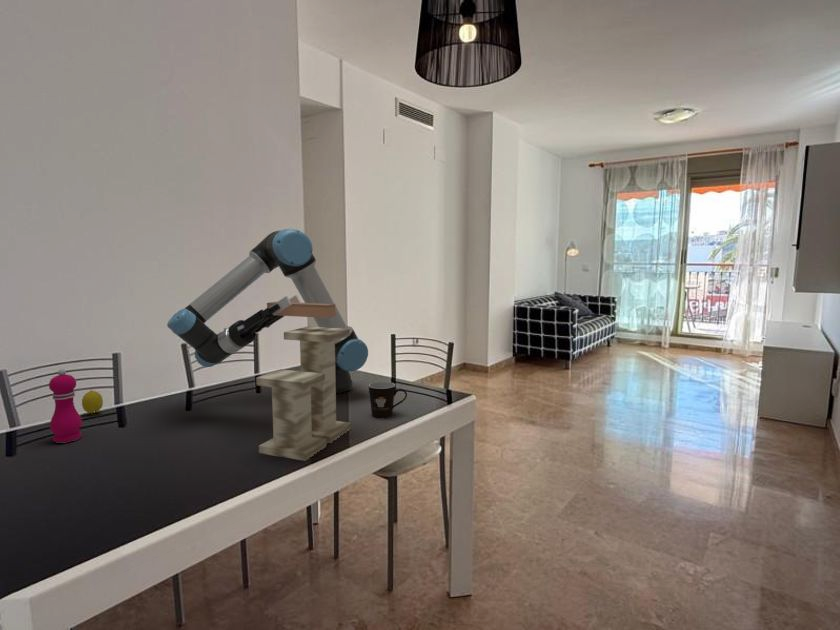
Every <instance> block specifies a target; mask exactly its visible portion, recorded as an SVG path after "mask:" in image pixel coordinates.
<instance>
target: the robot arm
mask: <svg viewBox="0 0 840 630" xmlns="http://www.w3.org/2000/svg"><path fill="white" fill-rule="evenodd" d="M313 249H314V248H313V244H312V241H311V239H310V237H308V235H307V234H306V233H304V232H303V231H301V230H298V229H295V228H285V229H282V230H275V231H273V232H270V233H269V234H268V235H266V237H264V238H263V239H262V240H260V242H259V243H258V244H256V246H255V247H254V248H252V249H251V250H249V255H248V256H247V257H246V258H245V259H244V260H242V261H241V262H240V263H239V264H237V265H235V267H234V268H232V269H231V270H230V271H228V272H227V274H225V275H224V276H223V277H222V278H220V279H219V280H218V281H216V282H215V283H214V284H213V285H211V286H210V287H209V288H207V289H206V290H205V291H204V292H202V294H201V295H199V296H198V297H197V298H196V299H194V300H193V301H192V302H190V303H189V304H188V305H187V306H185V307H184V308H182V309H180V310H178V311H177V312H176V313H174V314H173V315H172V316H171V318H170V319H168V322H167V324H166V325H167V328H169V330H171V332H172V333H173V334H175V335H176V336H177V337H179V338H180V339H181V340H183V341H184V342H185V343H187V344H188V345H189V346H190V347H192V349H194V358H195V359H196V360H197V363H198V364H199V365H201V366H202V367H205V368H212V367H214V366H217V365H218V364H221V362H223V361H224V360H226V359H227V358H229V357H230V356H231V355H234V354H236V353H237V352H239V351H241V350H242V349H244V348H245V347H246V346H248V345H250V344H251V343H252V342H254V341H255V339H256V334H257V333H259V332H261V331H262V330H263V329H265V328H266V329H267V328H270V327H271V326H272V325H273V324H275V323H276V322H278V321H280V320H281V319H283V318H284V317H285V316H278V315H276V314H278V313H279V312H281V311H283V310H284V309H286V308H287V307H289V306H290V305H292V304H291V302H296V303H302V302H301V300H300V298H299V295H300V296H301V299H302V300H303V303H321V304H335V302H334V300H333V299H332V297H331V295H330V293H329V292H328V290H327V287H326V286H325V284H324V281H323V279H321V277H320V274H319V273H318V271H317V269H316V267H315V264H316V261H317V260H316V258H315V255H314V254H313ZM277 268H279V269H280V270H281V272H282V275H283V276H284V277H286V278H289V279H291V280H292V282H293V284H294V286H295V288H296V289H297V291H298V293H299V295H297V294H295V295H294V296H292V297H290V298H289V296H287V295H286V296H283V298H281V299H280V300H278V301H276V302H277V303H275V304H273V305H272V306H270V308H267V307H266V308H265V309H260V310H258V311H257V312H256V313H254V314H253V315H250V316H248V318H246V319H245V320H244V319H241V320H240V319H239V320H237V321H236V322H234V323H232V324H231V325H230V326H229V327H224V328H223V331H220V332H218V333H216V332H215V331H214V330H212V329H211V328H210V326H208V325H206V324H205V323H206V322H208V320H210V319H211V318H212V317H213V316H215V315H216V314H217V313H219V312H220V311H221V310H222V309H223V308H224V307H226V305H228V304H229V303H230V302H232V300H234V299H235V298H236V297H238V295H240V294H241V293H242V292H244V290H246V289H247V288H248V287H250V286H251V285H252V284H253V283H254V282H256V281H257V280H258V279H259V278H261V277H262V276H263V275H264V274H270V273H271V272H272V271H273V270H274V269H277ZM272 314H273V315H272ZM335 314H336V316H335V317H331V318H318V317H312V318H313V319H314V321H315V323H316V325H317V327H324V328H341V329H350V336H348V337H344V338H341V339H338V340H335V379H336V393H338V394H342V393H341V392H344V393H346V392H345V391H348V390H350V389H352V388H353V387H354V384H353V380H352V377H351V374H350V372H355V371H357V370H360V369H361V368H362V367H363V366H364V365H365V364H366V362H367V360H368V357H369V349H368V346H367V344H366V343H365V342H364V341H363V340H361V339H359V337H358V336H357V334H356V332H355V330H354V328H353V327H352V326H350V325H347V324H346V322H345V321H344V319H343V317H342V315H341V314H340V311H339V309H338V307H337V306H336V305H335ZM353 389H354V388H353ZM353 389H352V390H353ZM350 391H351V390H350ZM348 392H349V391H348Z"/></svg>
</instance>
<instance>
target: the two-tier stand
mask: <svg viewBox="0 0 840 630" xmlns="http://www.w3.org/2000/svg"><path fill="white" fill-rule="evenodd" d="M348 336H350V329H341V328H324V327H318V326H304V327H300V328H296V329H291V330H287V331H283V340H287V341H288V340H289V341H299V352H300V354H299V357H300V370H290V369H281V368H280V369H277V370H274V371H271V372H268V373H266V374H264V375H261V376H257V377H256V378H255V380H256V383H255V384H256V387H257V386H259V387H268V388H271V401H272V402H271V403H272V404H271V405H272V406H271V407H272V408H271V409H272V429H273V431H272V432H273V434H272V436H273V437H272V438H270V439H269V440H266V441H265V442H263V443H261V444H260V445H258V454H260V455H261V454H262V455H267V456H274V457H280V458H286V459H290V460H291V459H292V460H297V461H302V462H303V461H304V462H306V461H308V460H309V459H311V458H312V457H313V456H315V455H316V454H318V453H319V452H321V451H320V450H324V449H325V448H326V447H327V444H328V443H331V444H332V443H334V442H335V441H336V440H338V439H339V438H341V437H342V436H343V434H344V433H345V434H347V431H348V432H349V431H351V430H352V422H347V421H341V420H337V399H336V398H337V394H336V379H335V340H338V339H341V338H344V337H348ZM350 429H351V430H350ZM345 434H344V435H345ZM341 435H342V436H341ZM340 436H341V437H340ZM337 438H338V439H337ZM334 440H335V441H334ZM333 441H334V442H333ZM317 452H318V453H317ZM314 454H315V455H314ZM310 457H311V458H310Z"/></svg>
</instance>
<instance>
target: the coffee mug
mask: <svg viewBox="0 0 840 630" xmlns="http://www.w3.org/2000/svg"><path fill="white" fill-rule="evenodd" d="M368 391H369V392H368V394H369V401H370V410H371V417H373V418H374V417H375V419H379V418H384V419H388V418H387V417H389V418H391V417H392V416H393V410H394V408H395V407H397V406H398V405H400V404H402V403H403V402H404V401H405V400H406V399H407V398H408V397H407V396H408V393H407V391H406V390H405V389H403V388H397V389H396V384H395V383H394V382H390V381H375V382H371V383H369V384H368ZM398 392H403V393H404V395H405V396H404V398H402V400H400V401H398V402H397V403H395V404H394V401H395V396H396V395H397V393H398ZM391 415H392V416H391ZM390 416H391V417H390Z"/></svg>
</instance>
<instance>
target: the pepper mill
mask: <svg viewBox="0 0 840 630" xmlns="http://www.w3.org/2000/svg"><path fill="white" fill-rule="evenodd" d="M48 387H49V390H50V391H51V392H52V394H51V396H52V400H54V412H53V415H52V417H51V419H50V423H49V430H50V431H51V432H52V433H53V434H54V435H53V436H52V441H54V442H68V441H72V440H75V439H78V438H80V437H81V438H82V432H81V431H82V430H81V431H80V429H81V427H82V425H83V420H82V419H83V418H82V417H81V415H80V414H79V412H78V410H77V409H76V407H75V403H74V397H75V396H76V394H75V393H76V391H75V390H74V389H75V388H76V387H77V380H76V378H75V377H74V376H72V375H71V374H67V371H66V369H62V368H61V369H58V371H57V375H56V376H53V377H52V378H51V379H50V381H49V382H48ZM81 438H80V439H81ZM54 442H53V443H54Z"/></svg>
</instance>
